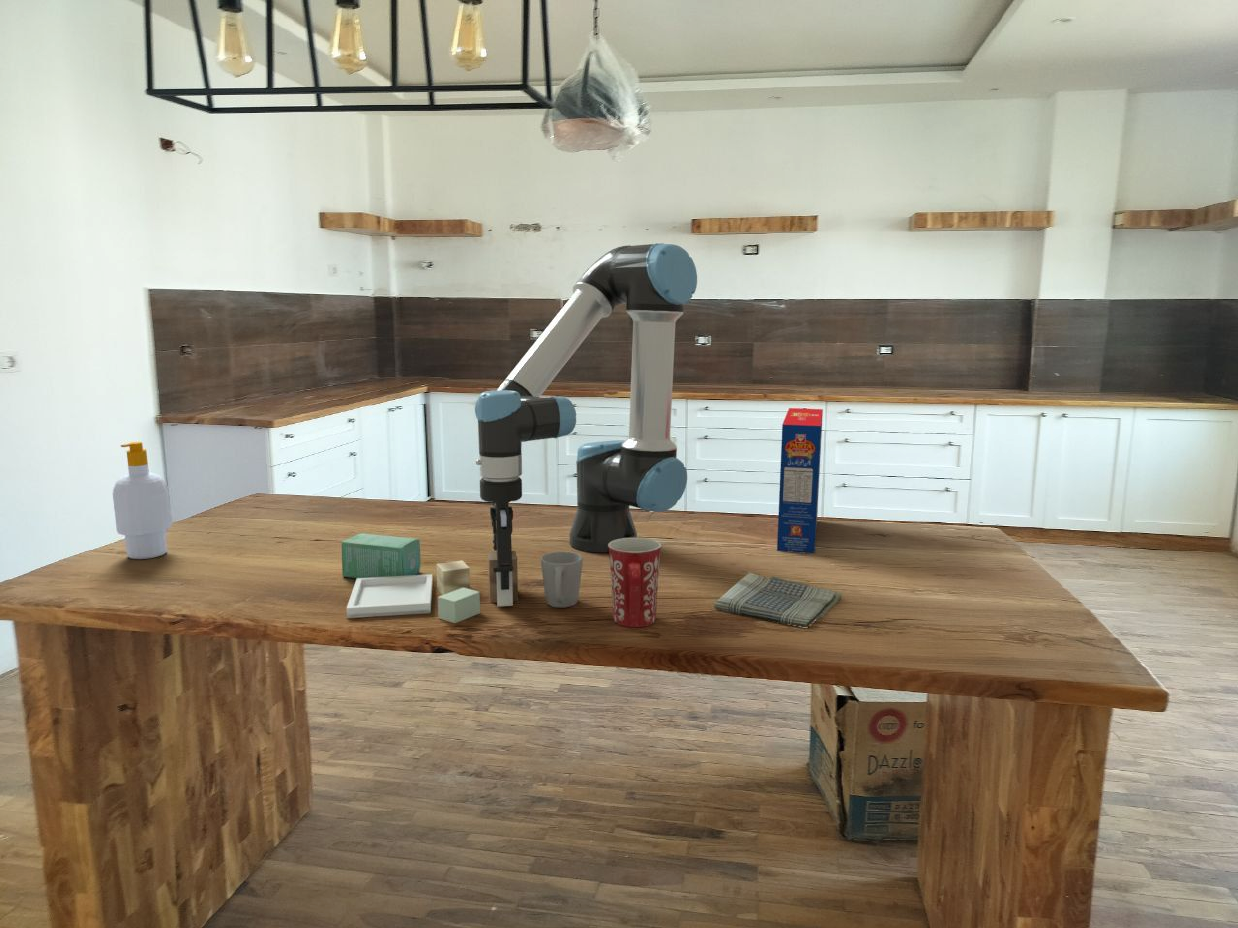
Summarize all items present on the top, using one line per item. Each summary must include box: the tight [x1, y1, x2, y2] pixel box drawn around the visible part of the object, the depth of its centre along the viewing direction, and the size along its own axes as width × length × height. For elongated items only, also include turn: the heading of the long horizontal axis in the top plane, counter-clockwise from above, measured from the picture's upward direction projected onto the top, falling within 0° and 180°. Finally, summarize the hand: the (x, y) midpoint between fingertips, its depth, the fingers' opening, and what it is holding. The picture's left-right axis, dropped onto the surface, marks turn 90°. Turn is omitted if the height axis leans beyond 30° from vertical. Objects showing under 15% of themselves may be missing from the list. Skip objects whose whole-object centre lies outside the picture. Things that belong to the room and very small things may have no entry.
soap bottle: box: [112, 441, 173, 560], centre depth 179 cm, size 10×10×24 cm
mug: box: [608, 537, 663, 628], centre depth 143 cm, size 13×9×14 cm
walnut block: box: [487, 550, 519, 604], centre depth 157 cm, size 5×5×8 cm
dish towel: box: [713, 572, 843, 628], centre depth 155 cm, size 19×18×3 cm
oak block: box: [436, 560, 471, 596], centre depth 160 cm, size 5×5×5 cm
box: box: [341, 532, 422, 579], centre depth 169 cm, size 7×14×8 cm, turn 76°
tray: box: [346, 573, 434, 619], centre depth 155 cm, size 14×16×2 cm
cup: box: [540, 551, 584, 609], centre depth 153 cm, size 8×10×8 cm
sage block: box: [437, 587, 481, 624], centre depth 148 cm, size 6×4×4 cm, turn 144°
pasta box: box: [776, 407, 824, 554], centre depth 196 cm, size 28×8×28 cm, turn 166°
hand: (503, 594), depth 157 cm, fingers open, 10 cm apart
